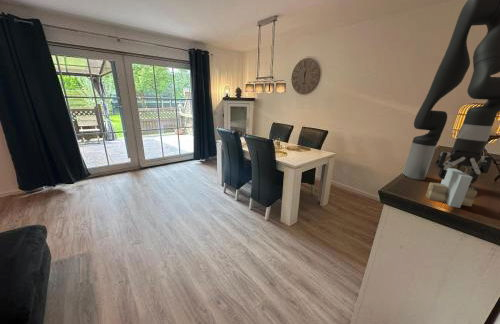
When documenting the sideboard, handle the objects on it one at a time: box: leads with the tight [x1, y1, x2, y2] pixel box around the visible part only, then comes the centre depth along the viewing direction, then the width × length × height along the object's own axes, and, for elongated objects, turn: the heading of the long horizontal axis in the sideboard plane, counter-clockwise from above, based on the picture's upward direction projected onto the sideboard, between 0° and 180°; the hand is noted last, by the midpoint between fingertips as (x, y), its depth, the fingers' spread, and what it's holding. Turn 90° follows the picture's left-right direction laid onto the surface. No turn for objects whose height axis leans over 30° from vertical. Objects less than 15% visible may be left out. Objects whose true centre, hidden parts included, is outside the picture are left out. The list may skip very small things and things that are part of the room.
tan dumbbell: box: [425, 182, 478, 207], centre depth 77 cm, size 3×13×6 cm, turn 70°
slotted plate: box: [440, 167, 473, 209], centre depth 76 cm, size 10×3×12 cm, turn 160°
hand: (455, 180), depth 76 cm, fingers open, 8 cm apart
